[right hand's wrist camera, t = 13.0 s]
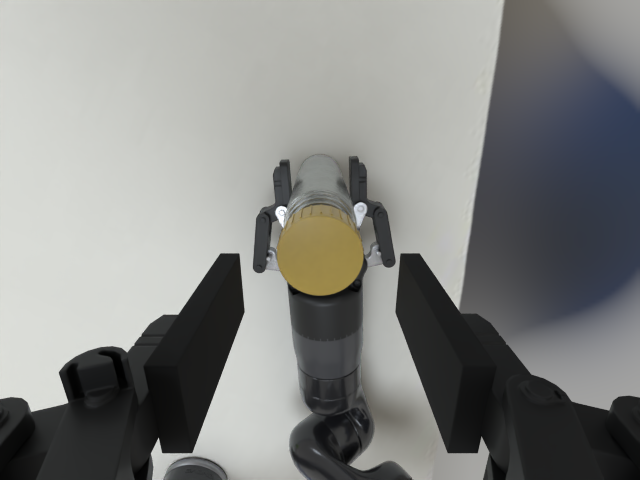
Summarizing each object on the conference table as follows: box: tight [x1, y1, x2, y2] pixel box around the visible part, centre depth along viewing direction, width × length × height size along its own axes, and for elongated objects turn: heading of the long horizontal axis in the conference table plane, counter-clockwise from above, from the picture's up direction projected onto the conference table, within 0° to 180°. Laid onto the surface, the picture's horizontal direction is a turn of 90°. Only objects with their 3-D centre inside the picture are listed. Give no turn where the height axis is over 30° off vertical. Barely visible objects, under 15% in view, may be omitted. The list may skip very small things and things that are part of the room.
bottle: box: [283, 154, 357, 229], centre depth 27 cm, size 4×4×22 cm
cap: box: [277, 204, 364, 296], centre depth 18 cm, size 4×4×2 cm
